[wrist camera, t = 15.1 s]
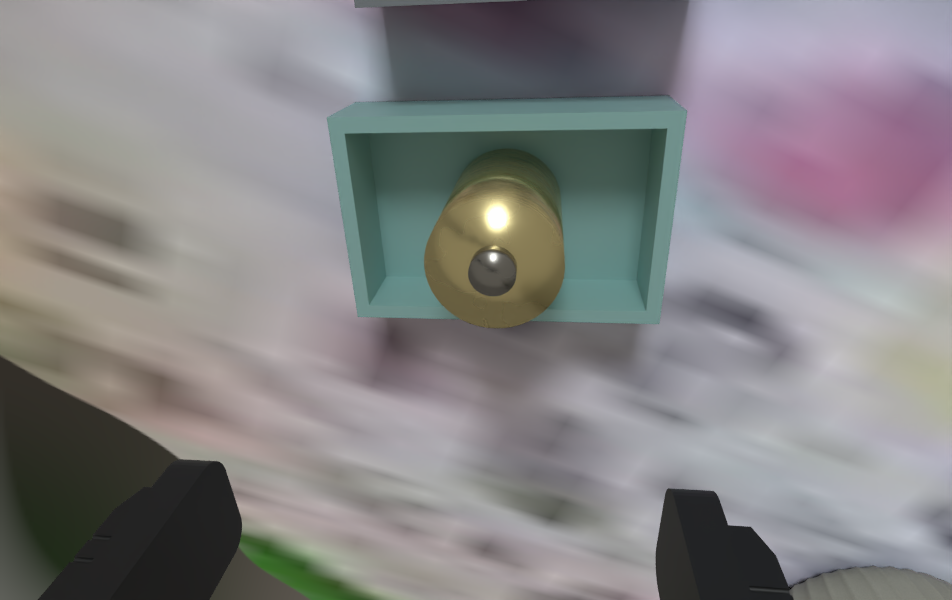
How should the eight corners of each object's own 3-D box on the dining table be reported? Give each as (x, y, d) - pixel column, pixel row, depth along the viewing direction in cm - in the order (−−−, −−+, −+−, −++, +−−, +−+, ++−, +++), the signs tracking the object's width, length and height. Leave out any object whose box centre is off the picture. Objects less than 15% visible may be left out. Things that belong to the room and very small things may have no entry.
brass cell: (450, 149, 25) (414, 205, 18) (562, 147, 24) (567, 204, 17) (456, 251, 27) (426, 335, 20) (559, 252, 26) (563, 338, 20)
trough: (379, 281, 29) (357, 316, 26) (355, 102, 25) (327, 117, 22) (646, 286, 27) (659, 324, 24) (668, 95, 23) (687, 110, 20)
